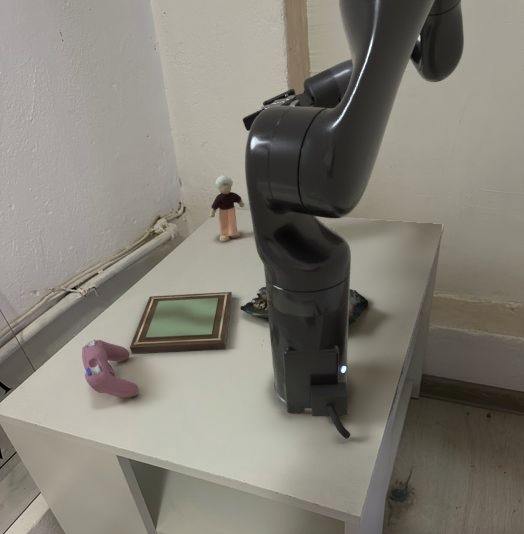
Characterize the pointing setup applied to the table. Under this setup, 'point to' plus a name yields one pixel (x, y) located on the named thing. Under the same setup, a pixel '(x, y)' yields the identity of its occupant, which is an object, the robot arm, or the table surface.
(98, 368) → the video game controller
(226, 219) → the grandmother figurine
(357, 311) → the decorative rock
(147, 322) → the board
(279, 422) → the table surface
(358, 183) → the robot arm
